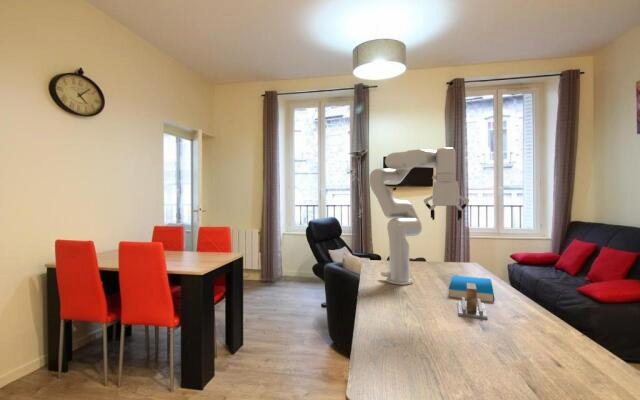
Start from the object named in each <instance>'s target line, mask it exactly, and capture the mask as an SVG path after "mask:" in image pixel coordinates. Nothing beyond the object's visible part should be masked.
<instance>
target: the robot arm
mask: <svg viewBox="0 0 640 400" xmlns="http://www.w3.org/2000/svg"><path fill="white" fill-rule="evenodd" d="M456 157H457V156H456V149H455V148H454V147H440V148H437V149H436V150H435V149H434V150H433V149H418V148H417V149H409V150H406V151H396V152H392V153H391V152H390V153H388V154H387V156H386V157H385V159H384V163H385V165H386V168H376V169H373V170H372V171H371V172H370V173H369V185H370V189H371V191H372V193H373V194H374V195H375V197H376V199H377V201H378V205H379V206H380V208H381V211H382V213H383V215H384V216H385V218H387V219H390V220H389V221H388V222H387V226H386V228H387V234H388V235H387V236H388V241H389V242H388V245H389V248H388V249H389V271H387V272H386V271H381V272H380V276H381V277H385V278H386V282H387V283H388V284H393V285H399V286H404V285H405V286H407V285H410V284H412V283H413V281H414V280H413V279H412V278H410V245H409V242H408V240H407V237H417V236H418V235H420V234H421V232H422V230H423V227H422V226H423V225H422V221H421V220H420V218H419V216H418V214H417V212H416V210H415V208H414V206H413V204H412V203H411V202H410V201H409V200H406V199H405V200H404V199H397V198H396V197H395V195H394V193H393V191H392V190H391V189H390V187H388V186H387V185H392V186H393V185H398V184H401V183H402V182H403V180H404V179H405V177H406V176H407V175H408V174H409V173H410V171H411V170H412V169H414V168H431V169H434V168H435V175H432V177H431V179H432V180H435V181H434V182H433V186H432V195H430V196H429V197H426V198H425V199H423V203H424V204H425V206H426V208H428V209H429V210H430V218H431V219H432V221H434V220H435V217H436V216H435V214H436V213H435V208H436V207H456V208H457V221H460V219H462V215H463V213H462V211H463V210H464V209H465V208H466V207H467V205H468V204H469V201H470V199H468V198H466V197H464V196H463V195H460V187H459V182H458V180H456V179H457V177H456V175H457V174H456V173H457V171H456V166H457V165H456V163H457V162H456V160H457V159H456ZM460 200H462V201H463V204H462V205H460ZM429 201H432V204H431V205H430V204H429Z"/></svg>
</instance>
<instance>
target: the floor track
mask: <svg viewBox="0 0 640 400" xmlns="http://www.w3.org/2000/svg"><path fill="white" fill-rule="evenodd" d="M457 301H458V302H457V304H458V305H457V307H458V309H457V310H458V316H459V317H464V318H465V317H467V318H473V319H474V318H475V319H482V320H488V314H487V310H486V305H485V303H484V302H482V300H480V299H478V298H477V312H474V311H467V300H466V298H465V297H462V298H461V300H460V299H459V300H457Z"/></svg>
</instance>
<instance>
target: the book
mask: <svg viewBox="0 0 640 400" xmlns="http://www.w3.org/2000/svg"><path fill="white" fill-rule="evenodd" d="M449 283H450V284H449V286H448V290H449V297H452V298H459V299H462V297H465V300H467V283H474V284H476V289H477V298H478V299H480V301H481V302H484V301H485V302H491V303H492V302H494V301H495V294H494V289H493V288H494V287H493V283H492V279H491V278H483V277H475V276H474V277H473V276H462V275H452V277H451V280H450V282H449Z"/></svg>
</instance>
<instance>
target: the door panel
mask: <svg viewBox="0 0 640 400" xmlns="http://www.w3.org/2000/svg"><path fill="white" fill-rule="evenodd" d="M466 301H467V311H474V312H477V289H476V284H474V283H467V299H466Z"/></svg>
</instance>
